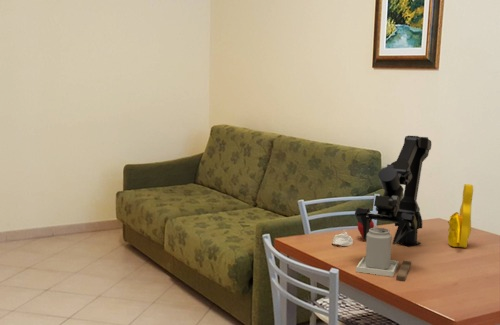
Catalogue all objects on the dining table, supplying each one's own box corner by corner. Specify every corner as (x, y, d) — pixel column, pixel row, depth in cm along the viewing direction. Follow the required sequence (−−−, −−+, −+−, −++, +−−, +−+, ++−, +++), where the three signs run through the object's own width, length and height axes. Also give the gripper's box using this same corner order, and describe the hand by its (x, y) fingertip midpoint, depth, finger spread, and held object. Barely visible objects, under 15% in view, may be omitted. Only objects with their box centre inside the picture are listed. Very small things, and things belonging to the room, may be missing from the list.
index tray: (363, 261, 186) (363, 256, 186) (398, 265, 182) (398, 261, 182) (356, 272, 176) (356, 266, 176) (393, 276, 172) (393, 271, 172)
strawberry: (371, 236, 215) (372, 210, 214) (375, 242, 208) (376, 215, 207) (355, 236, 216) (356, 210, 214) (358, 242, 208) (359, 214, 207)
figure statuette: (442, 238, 214) (446, 179, 211) (465, 239, 212) (468, 180, 209) (451, 252, 196) (454, 188, 193) (475, 253, 195) (479, 189, 192)
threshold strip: (403, 264, 184) (403, 260, 184) (411, 265, 183) (411, 261, 183) (396, 280, 169) (396, 276, 169) (404, 281, 168) (404, 277, 168)
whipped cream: (342, 251, 201) (343, 238, 200) (326, 245, 206) (327, 232, 204) (355, 244, 207) (356, 232, 205) (340, 239, 211) (340, 226, 210)
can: (383, 273, 174) (385, 234, 172) (361, 268, 178) (362, 230, 177) (394, 266, 180) (395, 229, 178) (372, 262, 184) (373, 225, 182)
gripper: (357, 182, 185) (343, 223, 177) (416, 188, 175) (404, 232, 167) (365, 201, 192) (352, 242, 185) (422, 208, 183) (411, 251, 175)
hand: (378, 241), depth 178 cm, fingers open, 9 cm apart
